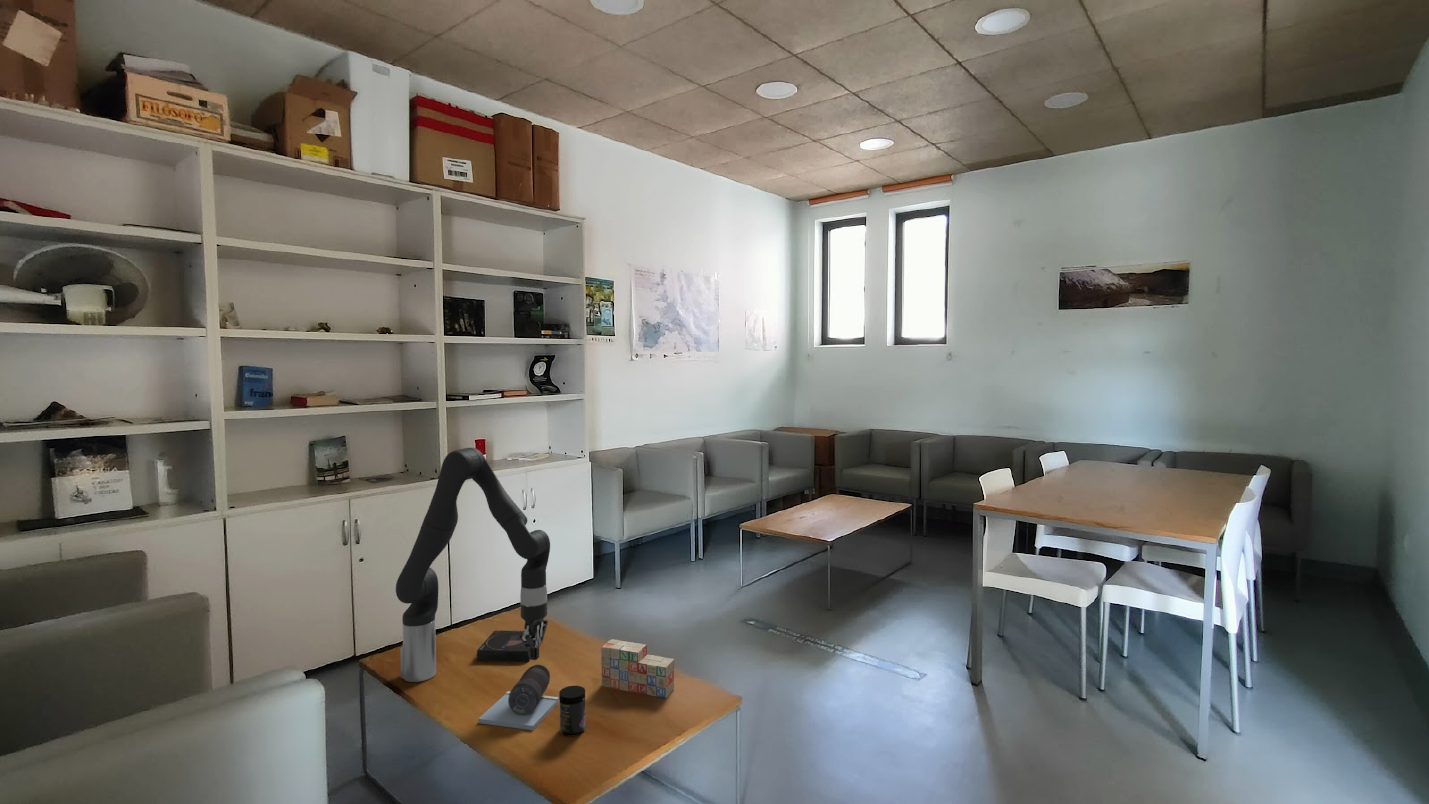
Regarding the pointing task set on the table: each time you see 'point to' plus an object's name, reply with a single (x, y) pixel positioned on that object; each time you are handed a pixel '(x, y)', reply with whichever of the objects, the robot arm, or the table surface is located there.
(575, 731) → the supplement container
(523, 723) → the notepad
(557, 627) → the table surface
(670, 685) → the stack of blocks
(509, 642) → the portable cd player
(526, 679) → the camera lens
